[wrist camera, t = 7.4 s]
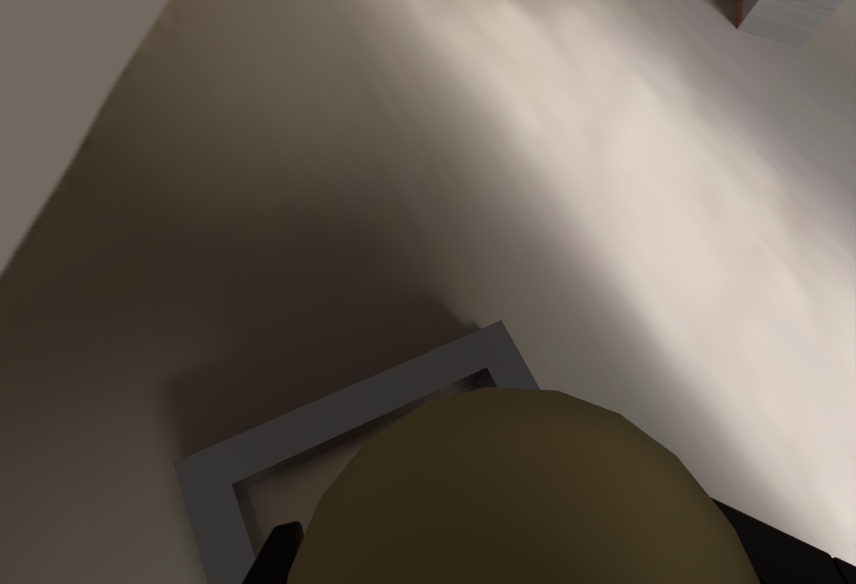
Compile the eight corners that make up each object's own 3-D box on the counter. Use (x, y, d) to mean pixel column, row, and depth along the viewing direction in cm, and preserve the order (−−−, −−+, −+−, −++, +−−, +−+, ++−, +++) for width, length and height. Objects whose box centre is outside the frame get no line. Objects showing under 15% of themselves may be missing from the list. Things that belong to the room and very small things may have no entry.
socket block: (656, 646, 16) (708, 668, 13) (314, 889, 13) (302, 971, 10) (487, 335, 19) (504, 308, 17) (189, 466, 16) (159, 456, 14)
